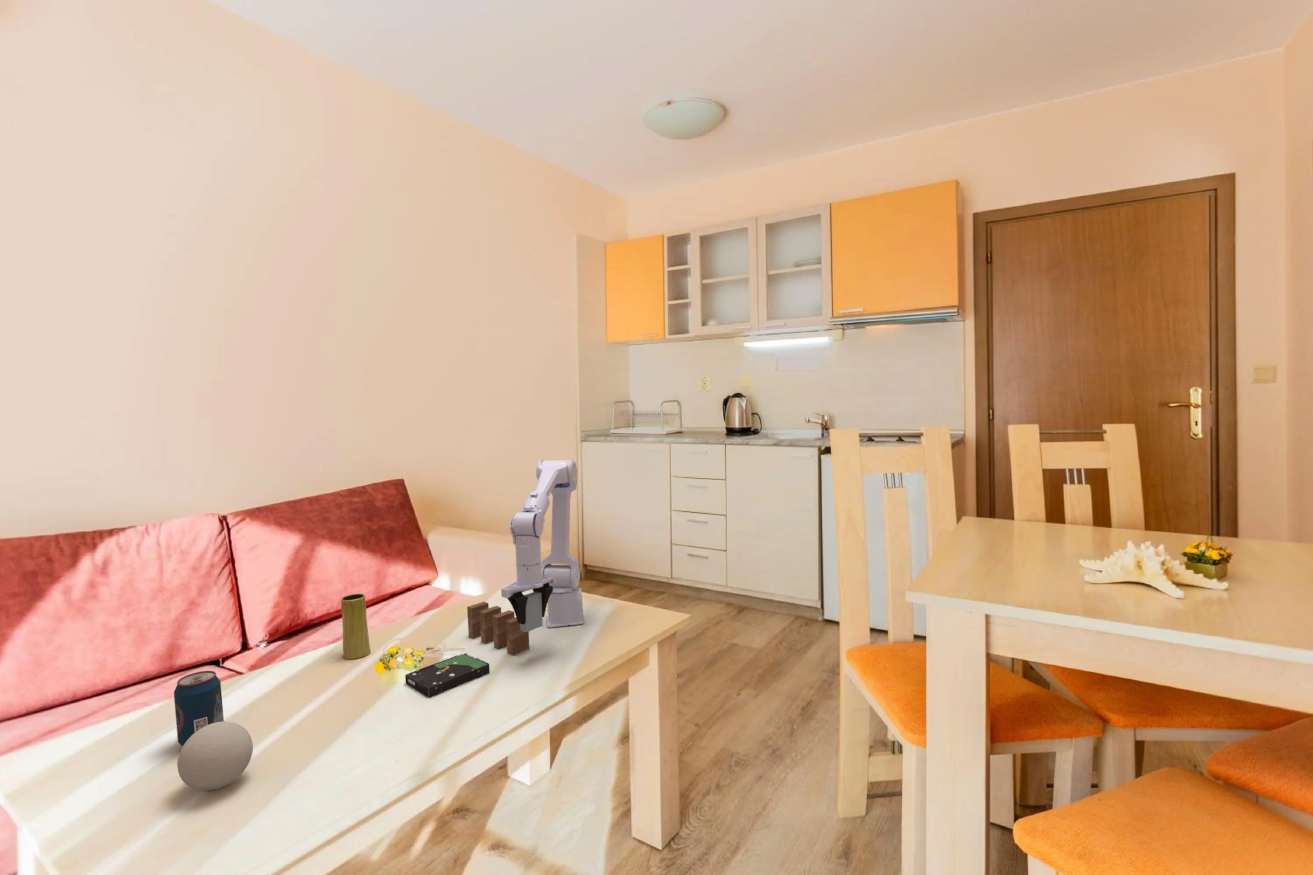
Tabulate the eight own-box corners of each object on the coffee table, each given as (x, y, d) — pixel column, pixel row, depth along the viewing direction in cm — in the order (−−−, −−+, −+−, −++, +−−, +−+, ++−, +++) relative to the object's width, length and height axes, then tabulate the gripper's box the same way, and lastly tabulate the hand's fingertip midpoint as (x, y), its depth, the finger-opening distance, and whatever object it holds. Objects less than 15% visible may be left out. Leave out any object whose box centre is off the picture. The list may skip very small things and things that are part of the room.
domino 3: (529, 648, 154) (528, 616, 153) (512, 655, 150) (511, 622, 149) (524, 646, 155) (522, 614, 155) (507, 653, 151) (505, 620, 151)
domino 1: (502, 637, 161) (501, 607, 160) (485, 644, 157) (484, 612, 157) (497, 636, 162) (496, 605, 162) (481, 642, 159) (479, 611, 158)
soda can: (178, 739, 116) (172, 676, 116) (223, 726, 121) (218, 665, 120) (178, 756, 111) (172, 690, 110) (226, 741, 115) (220, 678, 114)
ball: (167, 809, 96) (161, 747, 96) (197, 772, 106) (193, 714, 105) (240, 798, 99) (235, 736, 98) (264, 762, 108) (260, 706, 108)
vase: (337, 657, 151) (333, 599, 150) (357, 647, 157) (354, 591, 156) (356, 661, 149) (352, 602, 148) (376, 650, 155) (372, 594, 154)
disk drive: (429, 701, 130) (491, 674, 141) (428, 688, 130) (490, 662, 141) (404, 687, 137) (465, 662, 148) (403, 674, 136) (464, 650, 148)
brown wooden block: (515, 643, 157) (514, 611, 157) (498, 649, 154) (497, 617, 153) (510, 641, 159) (509, 610, 158) (493, 647, 155) (492, 615, 154)
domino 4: (542, 625, 150) (541, 592, 149) (525, 632, 146) (524, 598, 145) (537, 623, 151) (536, 591, 150) (520, 630, 147) (518, 596, 147)
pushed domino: (489, 632, 165) (488, 602, 164) (473, 638, 161) (471, 608, 160) (485, 631, 166) (483, 601, 165) (468, 637, 162) (467, 606, 162)
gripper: (513, 573, 139) (516, 632, 140) (563, 558, 150) (565, 614, 151) (494, 567, 144) (497, 625, 145) (544, 554, 155) (547, 608, 156)
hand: (531, 619), depth 148 cm, fingers closed on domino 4, 5 cm apart
